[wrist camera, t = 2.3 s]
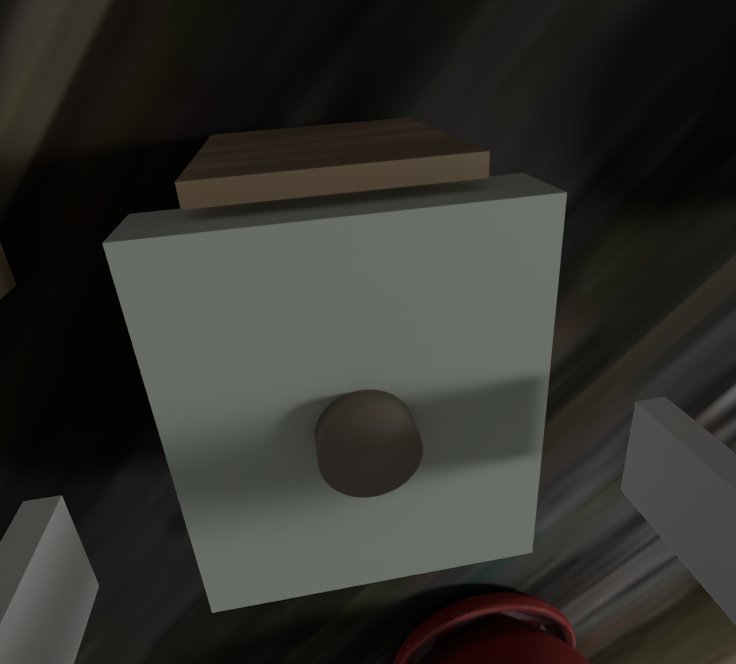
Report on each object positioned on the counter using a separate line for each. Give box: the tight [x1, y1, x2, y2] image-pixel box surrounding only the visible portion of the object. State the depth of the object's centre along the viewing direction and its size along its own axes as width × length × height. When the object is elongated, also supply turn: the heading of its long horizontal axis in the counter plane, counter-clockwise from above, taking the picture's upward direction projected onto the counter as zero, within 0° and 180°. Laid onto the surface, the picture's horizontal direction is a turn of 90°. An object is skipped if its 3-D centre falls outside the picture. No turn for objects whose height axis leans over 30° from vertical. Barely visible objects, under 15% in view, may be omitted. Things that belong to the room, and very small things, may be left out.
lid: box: [102, 173, 567, 613], centre depth 15 cm, size 11×10×3 cm
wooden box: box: [175, 118, 490, 210], centre depth 19 cm, size 13×7×8 cm, turn 4°
